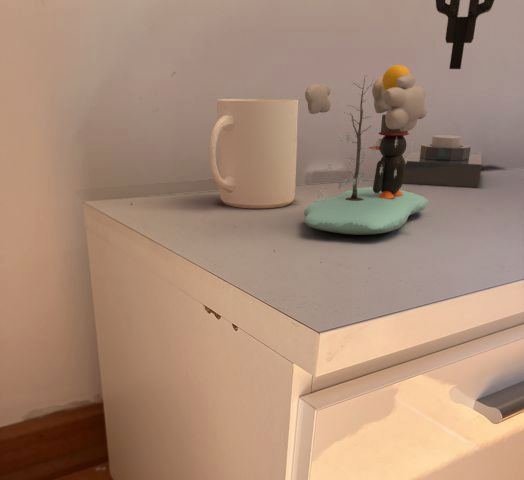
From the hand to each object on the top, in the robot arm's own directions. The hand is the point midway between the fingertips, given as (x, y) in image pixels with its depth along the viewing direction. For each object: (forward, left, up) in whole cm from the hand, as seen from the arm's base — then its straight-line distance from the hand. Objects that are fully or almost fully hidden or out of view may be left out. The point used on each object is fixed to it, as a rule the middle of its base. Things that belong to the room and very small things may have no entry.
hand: (455, 68), depth 83 cm
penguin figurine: (+6, +35, -16) cm, 39 cm away
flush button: (0, 0, -11) cm, 11 cm away
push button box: (0, 0, -16) cm, 16 cm away
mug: (+21, +30, -16) cm, 40 cm away
